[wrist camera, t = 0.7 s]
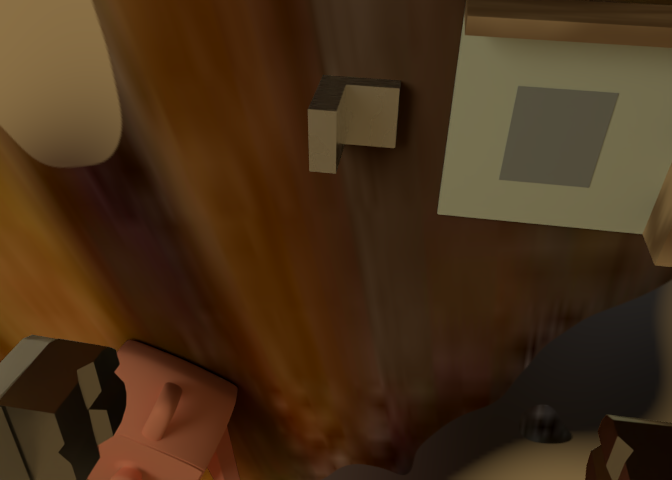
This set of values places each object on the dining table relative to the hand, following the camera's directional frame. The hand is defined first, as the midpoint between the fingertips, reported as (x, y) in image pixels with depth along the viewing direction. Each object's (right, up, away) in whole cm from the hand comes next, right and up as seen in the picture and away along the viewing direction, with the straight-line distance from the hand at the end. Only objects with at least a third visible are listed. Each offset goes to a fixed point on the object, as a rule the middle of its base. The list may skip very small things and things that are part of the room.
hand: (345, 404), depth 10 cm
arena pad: (+18, +12, +35) cm, 41 cm away
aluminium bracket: (+2, +13, +37) cm, 40 cm away
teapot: (-18, -16, +65) cm, 69 cm away
